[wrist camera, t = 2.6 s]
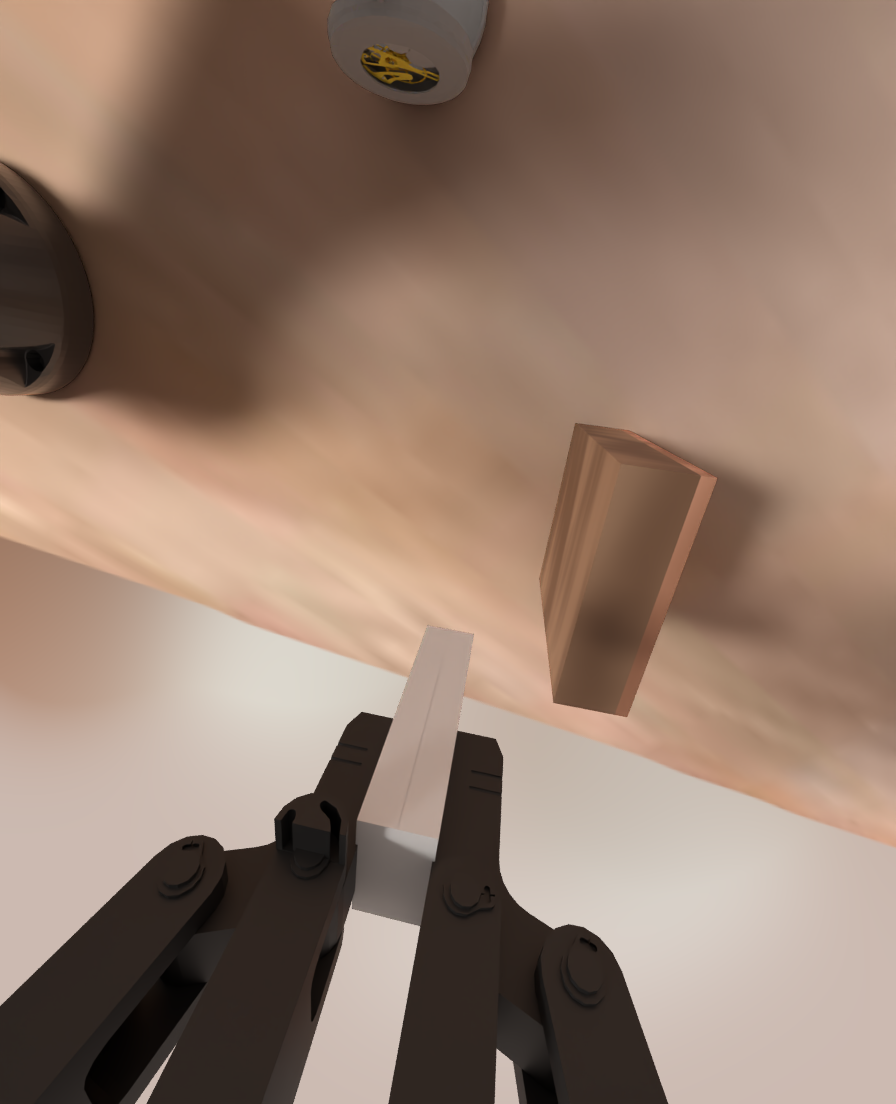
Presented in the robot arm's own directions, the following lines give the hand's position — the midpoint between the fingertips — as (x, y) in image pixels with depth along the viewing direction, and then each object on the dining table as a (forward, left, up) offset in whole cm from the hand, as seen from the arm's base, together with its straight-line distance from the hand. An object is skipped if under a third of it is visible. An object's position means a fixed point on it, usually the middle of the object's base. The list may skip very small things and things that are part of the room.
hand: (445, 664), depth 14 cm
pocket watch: (-7, +24, -20) cm, 32 cm away
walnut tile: (+7, 0, -20) cm, 21 cm away
